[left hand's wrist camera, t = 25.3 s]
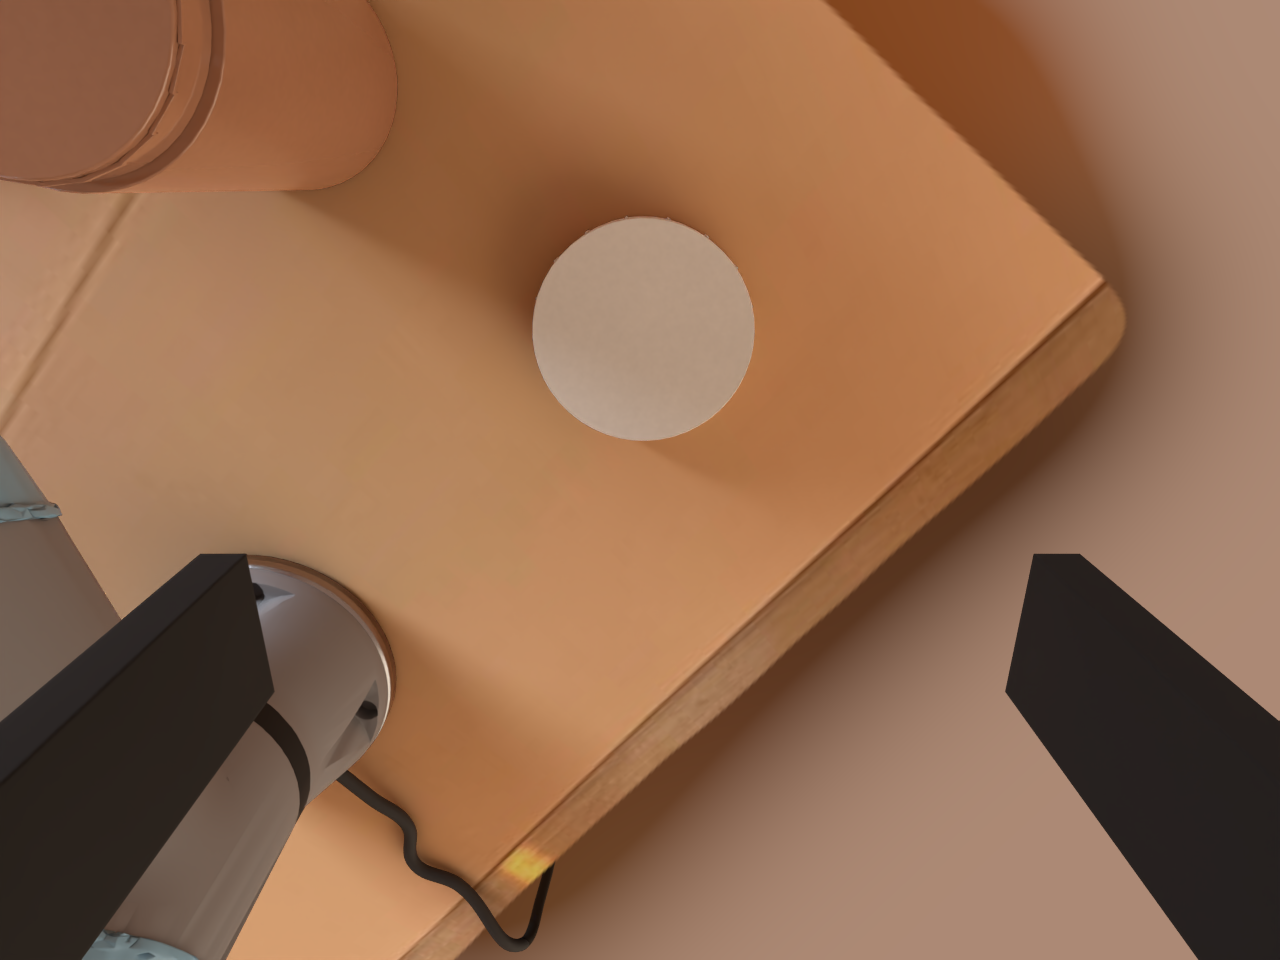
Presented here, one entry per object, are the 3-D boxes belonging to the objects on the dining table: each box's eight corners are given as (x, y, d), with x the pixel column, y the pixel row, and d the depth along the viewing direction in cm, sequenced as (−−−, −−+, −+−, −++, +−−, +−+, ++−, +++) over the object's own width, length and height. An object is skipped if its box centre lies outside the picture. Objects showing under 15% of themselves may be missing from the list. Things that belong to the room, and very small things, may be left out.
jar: (217, 200, 37) (-121, 213, 21) (150, -37, 34) (-323, -252, 17) (417, 178, 37) (236, 172, 20) (370, -65, 33) (105, -311, 17)
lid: (791, 284, 39) (799, 289, 37) (683, 464, 42) (685, 477, 40) (598, 172, 37) (596, 171, 35) (502, 370, 40) (494, 380, 38)
